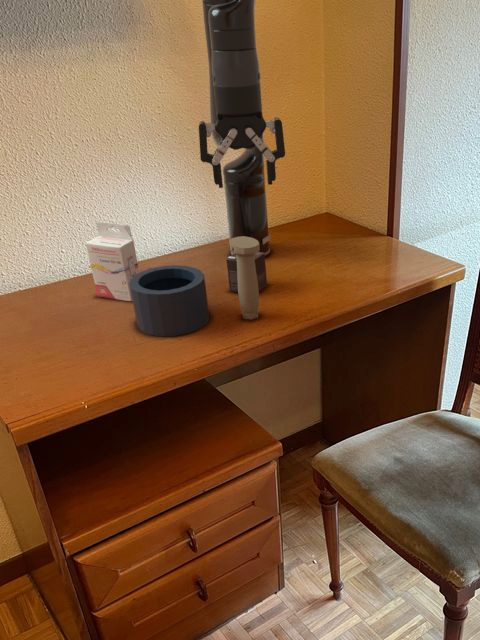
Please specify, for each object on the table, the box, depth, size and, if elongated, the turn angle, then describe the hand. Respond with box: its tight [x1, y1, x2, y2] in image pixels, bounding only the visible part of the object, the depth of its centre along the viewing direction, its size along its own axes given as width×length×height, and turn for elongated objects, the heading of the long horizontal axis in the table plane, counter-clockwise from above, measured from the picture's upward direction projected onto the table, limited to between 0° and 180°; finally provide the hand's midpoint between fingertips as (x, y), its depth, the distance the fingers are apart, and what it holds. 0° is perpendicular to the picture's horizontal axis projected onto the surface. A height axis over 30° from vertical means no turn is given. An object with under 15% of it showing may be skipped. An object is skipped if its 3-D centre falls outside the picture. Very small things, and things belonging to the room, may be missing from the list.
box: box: [225, 252, 268, 293], centre depth 139 cm, size 6×6×7 cm
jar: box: [129, 264, 210, 337], centre depth 126 cm, size 14×14×8 cm
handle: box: [228, 236, 260, 321], centre depth 125 cm, size 5×6×15 cm
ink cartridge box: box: [85, 221, 140, 302], centre depth 135 cm, size 9×5×15 cm, turn 71°
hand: (245, 185), depth 115 cm, fingers open, 8 cm apart
